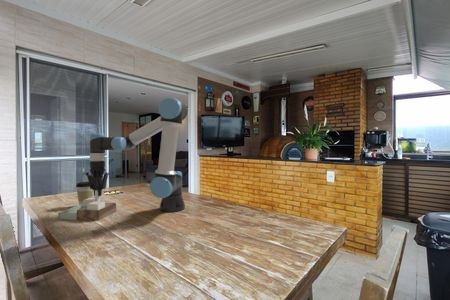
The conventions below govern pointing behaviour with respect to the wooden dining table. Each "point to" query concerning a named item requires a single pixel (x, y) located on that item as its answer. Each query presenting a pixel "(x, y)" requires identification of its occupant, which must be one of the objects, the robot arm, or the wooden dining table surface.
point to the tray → (70, 213)
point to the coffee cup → (83, 191)
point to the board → (96, 212)
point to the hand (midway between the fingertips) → (97, 201)
